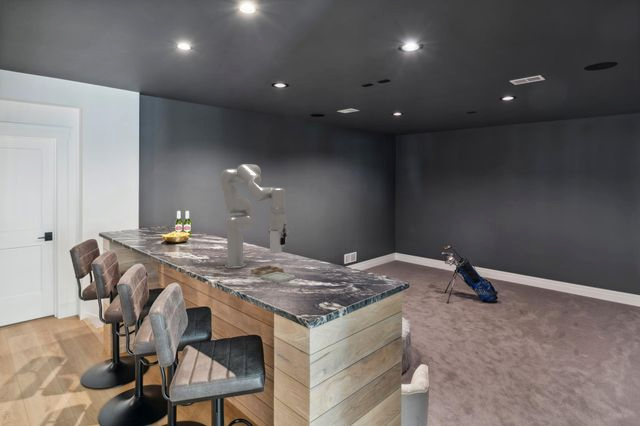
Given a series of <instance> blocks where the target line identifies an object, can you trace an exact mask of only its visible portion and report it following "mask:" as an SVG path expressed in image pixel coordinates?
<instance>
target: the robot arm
mask: <svg viewBox="0 0 640 426" xmlns="http://www.w3.org/2000/svg"><path fill="white" fill-rule="evenodd" d="M220 173H221V174H220V179H219V181H220V185H221V188H222V191H223V197H224V205H225V210H226V212H227V213H229V214H234V215H230V216H228V217H227V218H226V219H225V230H226V238H227V245H226V247H227V250H226V251H227V258H225V259H224V261H225V262H226V263H225V265H224V267H225V268H227V269H241V268H245V267H246V266H247V264H246V263H245V262H244V237H243V235H242V233H241V231H247V230H251V229H252V228H253V226H254V216H253V209H252V204H251V201H250V200H249V199H248V198H246V197H239V191H238V188H237V187H236V186H235V185H234V184H244V183H245V184H246V185H247V189H248V192H249V194H250V197H252V198H253V199H254V200H256V201H258V202H271V203H270V205H271V206H270V207H271V208H270V213H269V218H268V219H269V220H268V227H267V230H268V233H269V234H270V230H271V231H279V233H281V237H282V238H281V239H280V245H285V246H286V244H285V237H286V236H287V237H288V234H289V233H290V230H289V228H288V221H287V215H286V190H285V188H283V187H267V186H266V187H260V185H261V183H262V180H263V179H262V176H261V175H262V169H261V168H260V166H258V165H257V164H251V163H250V164H249V163H243V164H239V165H238V166H237V168H227V169H224V170H223V171H222V172H220ZM235 214H237V215H235Z"/></svg>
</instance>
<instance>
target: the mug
mask: <svg viewBox="0 0 640 426" xmlns="http://www.w3.org/2000/svg"><path fill="white" fill-rule="evenodd" d="M287 237H288V235H287V236H286V237H285V245H280V239H281V238H282V237H281V233H279V231H271V230H270V233H269V252H270V253H271V254H281V253H282V251H283V247H285V246H286V243H287Z"/></svg>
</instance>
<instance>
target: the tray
mask: <svg viewBox="0 0 640 426" xmlns="http://www.w3.org/2000/svg"><path fill="white" fill-rule="evenodd" d="M260 278H261V280H265V281H269V282H273V283H276V284H282V283H285V282H288V281H292V280H295V279H296V276H295V275H293V274H288V273H284V272H274V273H270V274H266V275H262V276H260Z"/></svg>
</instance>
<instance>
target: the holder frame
mask: <svg viewBox="0 0 640 426" xmlns="http://www.w3.org/2000/svg"><path fill="white" fill-rule="evenodd" d="M268 270H269V271H268ZM250 271H251V274H252V275H257V276H260V277H261V276H262V275H266V274H270V273H274V272H281V273H284V268H283V267H280V266H275V265H271V264H270V265H264V266H261V267H256V268H252V269H251V270H250Z"/></svg>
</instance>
